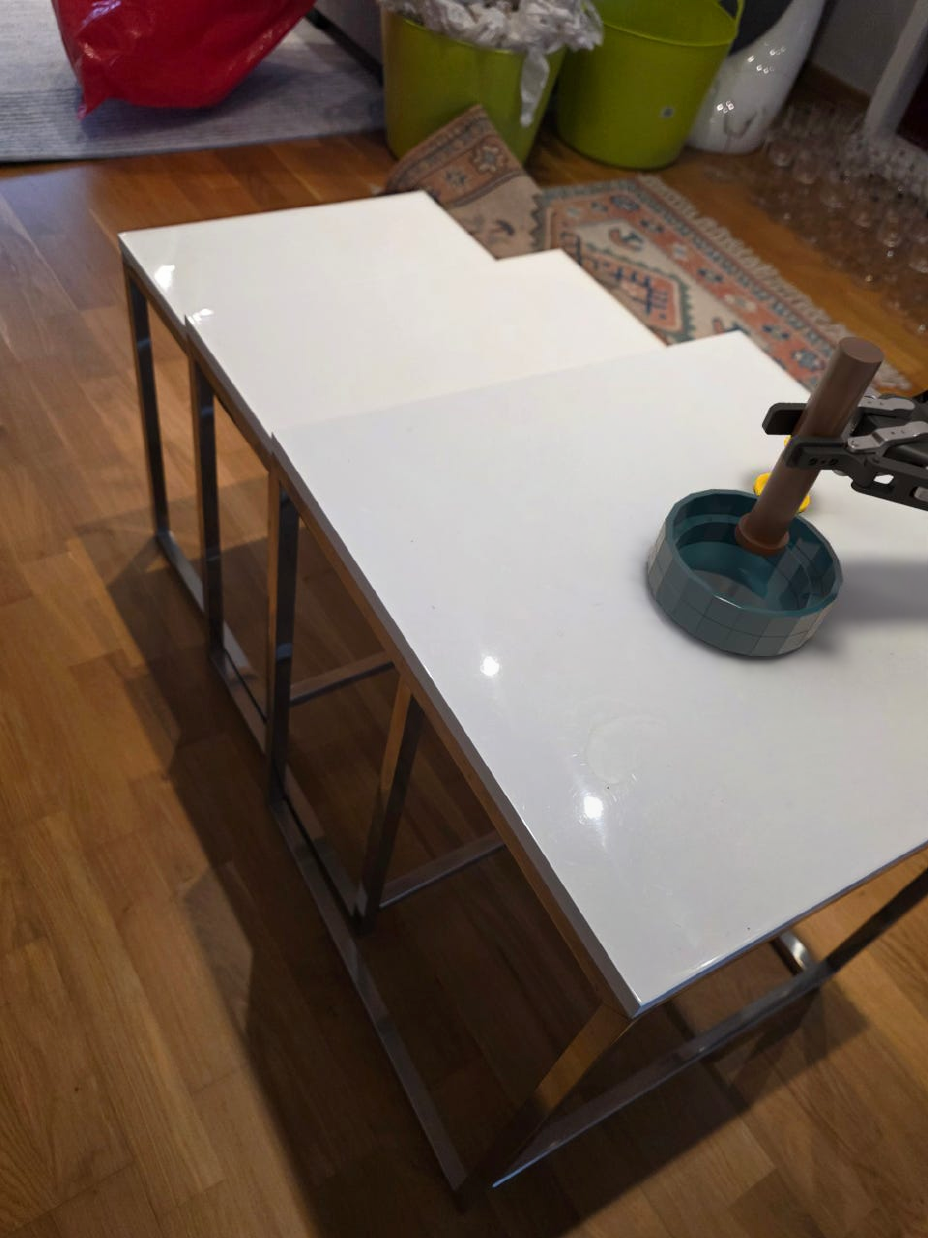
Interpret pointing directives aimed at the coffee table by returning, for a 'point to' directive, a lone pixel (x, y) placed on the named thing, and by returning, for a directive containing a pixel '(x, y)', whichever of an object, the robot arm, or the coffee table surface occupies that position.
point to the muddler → (819, 418)
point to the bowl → (741, 577)
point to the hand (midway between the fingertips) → (778, 435)
